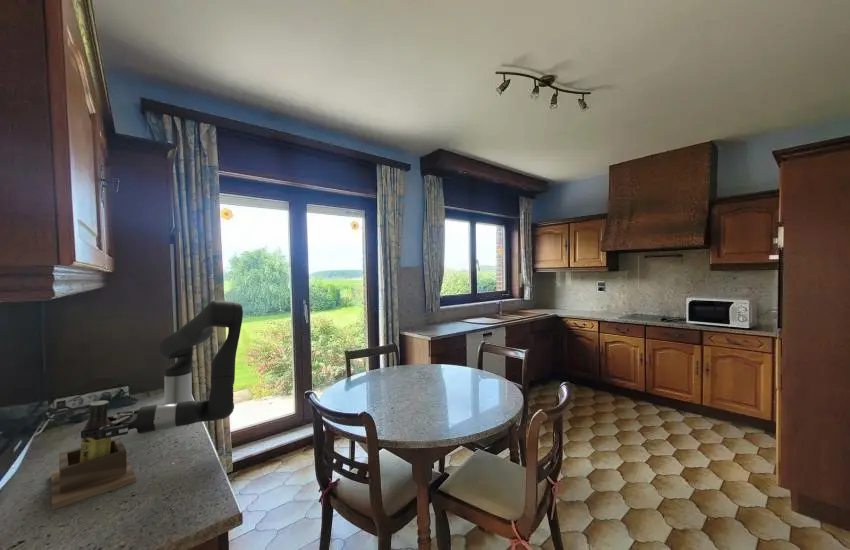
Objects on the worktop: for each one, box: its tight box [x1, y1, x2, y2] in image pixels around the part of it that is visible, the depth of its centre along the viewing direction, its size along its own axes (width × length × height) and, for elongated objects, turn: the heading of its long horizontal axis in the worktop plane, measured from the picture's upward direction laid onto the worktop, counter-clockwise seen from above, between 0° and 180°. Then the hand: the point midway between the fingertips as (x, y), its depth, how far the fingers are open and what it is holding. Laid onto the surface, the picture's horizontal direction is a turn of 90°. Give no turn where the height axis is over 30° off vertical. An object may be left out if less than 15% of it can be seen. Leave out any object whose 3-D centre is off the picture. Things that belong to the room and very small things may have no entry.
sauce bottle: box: [80, 400, 112, 462], centre depth 99 cm, size 6×6×20 cm
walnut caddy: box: [51, 437, 137, 511], centre depth 98 cm, size 22×16×8 cm
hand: (87, 428), depth 98 cm, fingers open, 8 cm apart
